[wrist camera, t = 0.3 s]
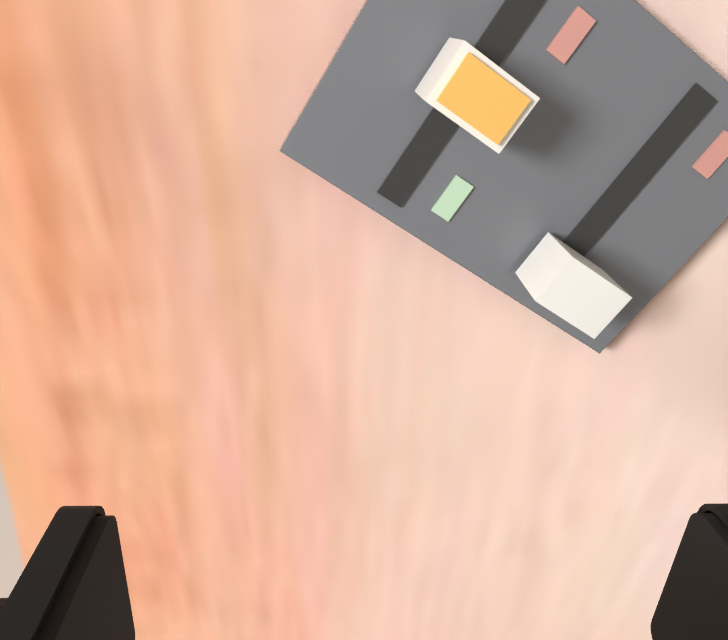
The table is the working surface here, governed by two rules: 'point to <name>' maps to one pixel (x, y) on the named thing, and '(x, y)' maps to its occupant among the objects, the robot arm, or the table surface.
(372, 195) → the breaker panel
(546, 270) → the block
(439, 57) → the block
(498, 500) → the table surface
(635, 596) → the table surface
